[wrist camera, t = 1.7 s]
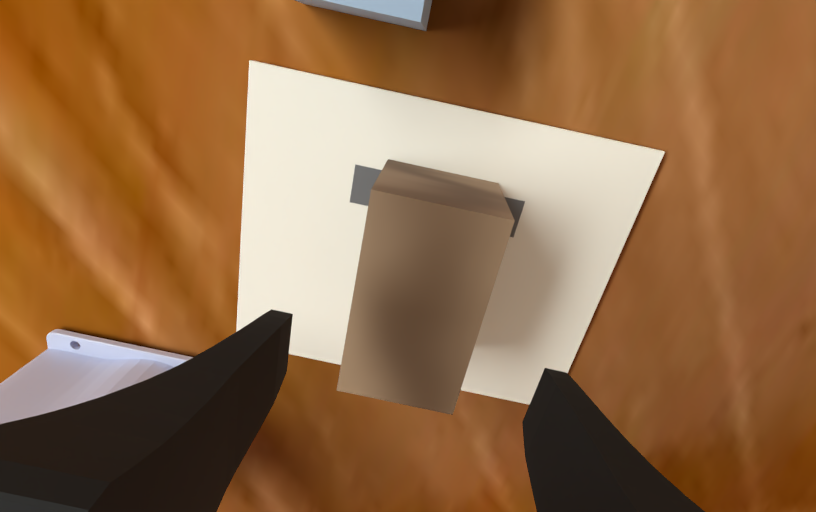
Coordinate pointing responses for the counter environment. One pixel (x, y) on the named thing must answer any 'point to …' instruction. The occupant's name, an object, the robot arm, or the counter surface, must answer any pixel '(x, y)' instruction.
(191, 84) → the counter surface
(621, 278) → the counter surface
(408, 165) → the walnut bar
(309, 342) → the letter mat
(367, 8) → the blue cube
